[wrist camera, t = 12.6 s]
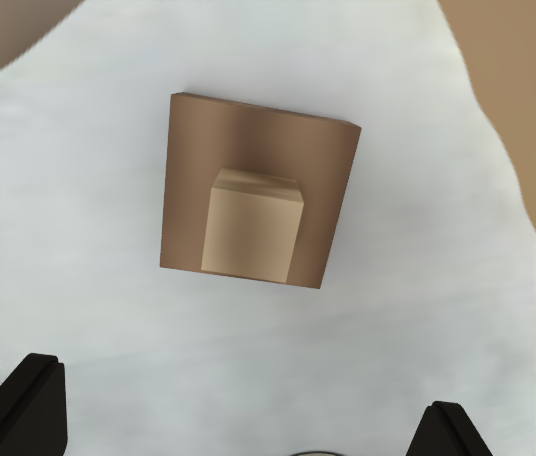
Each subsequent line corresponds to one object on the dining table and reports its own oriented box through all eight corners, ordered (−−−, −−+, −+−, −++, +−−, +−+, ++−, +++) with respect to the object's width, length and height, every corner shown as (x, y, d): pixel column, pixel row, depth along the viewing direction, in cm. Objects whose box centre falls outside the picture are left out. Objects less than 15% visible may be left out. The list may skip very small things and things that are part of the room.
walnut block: (347, 121, 27) (361, 127, 23) (312, 264, 31) (319, 289, 27) (183, 92, 26) (170, 94, 22) (171, 243, 30) (159, 267, 26)
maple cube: (296, 179, 24) (304, 203, 20) (281, 247, 26) (285, 282, 21) (221, 166, 24) (211, 187, 19) (212, 235, 26) (200, 269, 21)
